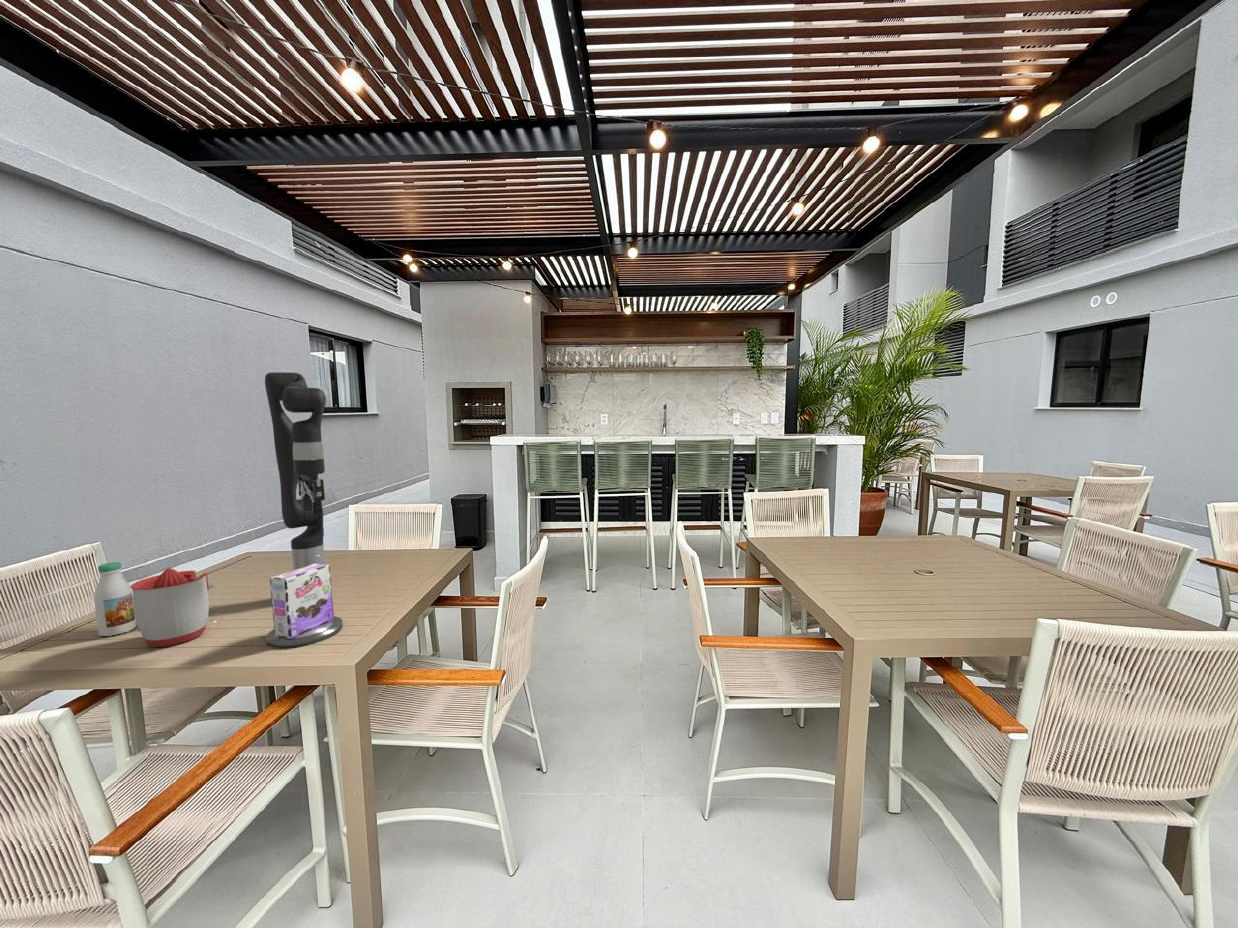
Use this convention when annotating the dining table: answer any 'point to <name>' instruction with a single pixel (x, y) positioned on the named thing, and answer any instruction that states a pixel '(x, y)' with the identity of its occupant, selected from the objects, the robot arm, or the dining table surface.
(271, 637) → the metal plate
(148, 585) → the citrus juicer
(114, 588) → the milk bottle
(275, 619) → the candy box
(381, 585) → the dining table surface
